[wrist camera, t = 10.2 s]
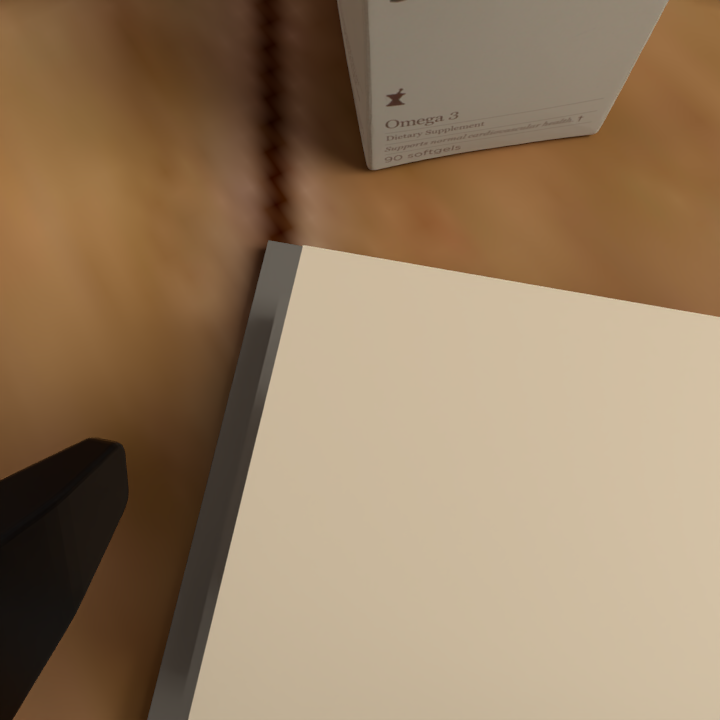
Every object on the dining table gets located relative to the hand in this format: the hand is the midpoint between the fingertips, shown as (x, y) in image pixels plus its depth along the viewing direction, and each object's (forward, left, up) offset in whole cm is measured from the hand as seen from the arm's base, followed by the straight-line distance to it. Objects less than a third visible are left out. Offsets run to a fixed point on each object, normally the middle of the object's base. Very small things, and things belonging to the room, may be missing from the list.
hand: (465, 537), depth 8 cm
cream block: (0, 0, -9) cm, 9 cm away
